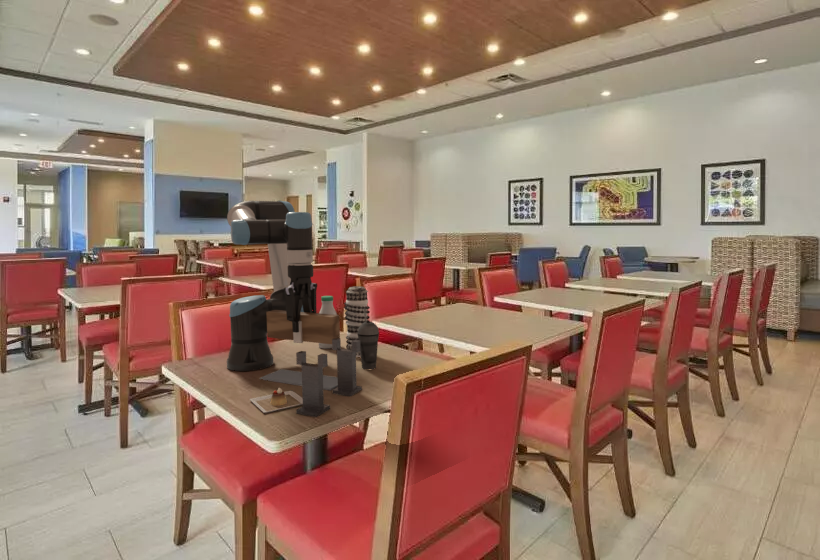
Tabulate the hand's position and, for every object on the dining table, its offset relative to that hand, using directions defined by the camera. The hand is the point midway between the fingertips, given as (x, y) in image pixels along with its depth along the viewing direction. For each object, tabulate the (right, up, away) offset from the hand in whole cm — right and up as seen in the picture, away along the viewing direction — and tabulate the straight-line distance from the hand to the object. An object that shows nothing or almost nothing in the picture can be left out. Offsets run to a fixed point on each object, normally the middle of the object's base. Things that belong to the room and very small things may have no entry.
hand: (302, 340), depth 147 cm
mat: (0, -12, +1) cm, 12 cm away
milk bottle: (+1, -8, +43) cm, 43 cm away
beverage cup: (+19, -11, +13) cm, 26 cm away
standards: (+11, -14, -17) cm, 25 cm away
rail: (0, 0, 0) cm, 0 cm away
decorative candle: (+14, -9, +30) cm, 34 cm away
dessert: (-2, -15, -18) cm, 23 cm away
